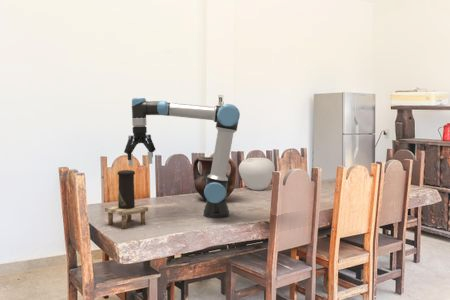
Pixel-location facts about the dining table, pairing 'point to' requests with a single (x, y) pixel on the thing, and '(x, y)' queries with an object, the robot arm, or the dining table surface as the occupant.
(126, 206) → the container
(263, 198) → the dining table surface
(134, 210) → the footstool
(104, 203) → the dining table surface
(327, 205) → the dining table surface
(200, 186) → the jug
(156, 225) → the dining table surface
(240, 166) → the vase
